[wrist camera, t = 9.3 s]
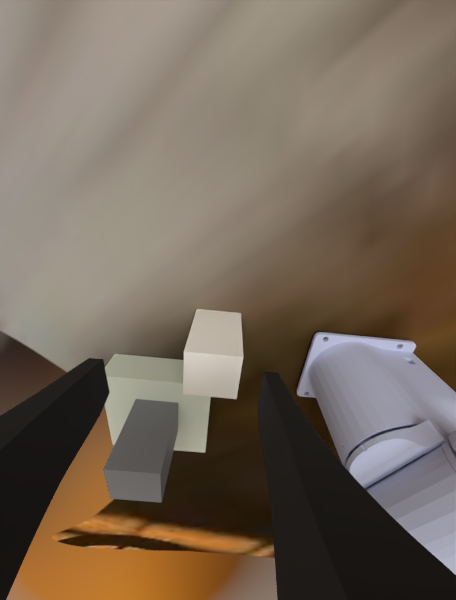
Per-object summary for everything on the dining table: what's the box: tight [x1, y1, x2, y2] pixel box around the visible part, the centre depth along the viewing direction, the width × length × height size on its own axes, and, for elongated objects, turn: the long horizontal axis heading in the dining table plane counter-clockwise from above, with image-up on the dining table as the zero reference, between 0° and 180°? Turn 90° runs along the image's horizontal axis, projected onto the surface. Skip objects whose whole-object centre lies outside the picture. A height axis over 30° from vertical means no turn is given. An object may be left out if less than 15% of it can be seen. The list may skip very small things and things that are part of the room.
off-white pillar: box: [183, 309, 243, 399], centre depth 19 cm, size 4×4×6 cm
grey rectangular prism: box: [103, 399, 178, 502], centre depth 20 cm, size 4×4×6 cm
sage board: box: [105, 354, 211, 453], centre depth 24 cm, size 10×10×3 cm
